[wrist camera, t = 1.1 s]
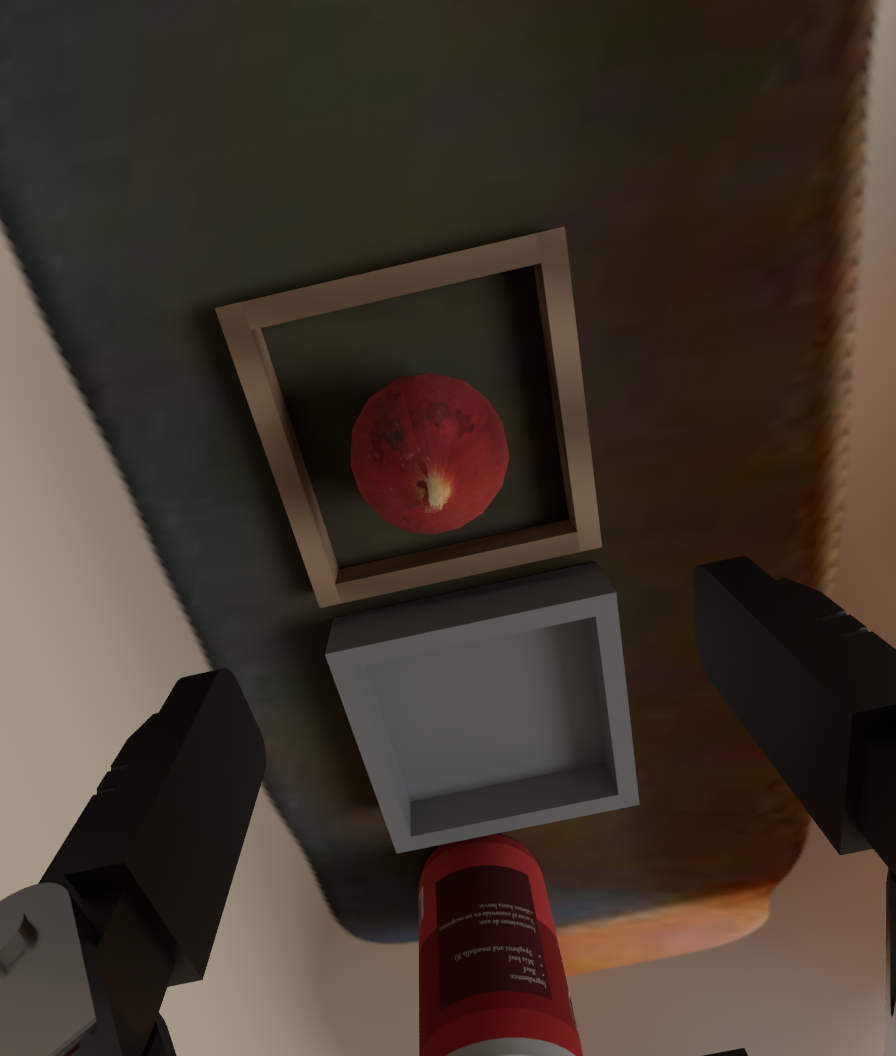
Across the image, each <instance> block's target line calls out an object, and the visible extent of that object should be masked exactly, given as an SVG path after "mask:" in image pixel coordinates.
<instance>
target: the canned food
mask: <svg viewBox="0 0 896 1056" xmlns="http://www.w3.org/2000/svg"><path fill="white" fill-rule="evenodd" d="M419 1033H420V1034H419V1044H420V1045H419V1048H420V1051H419V1055H420V1056H583V1054H582V1049H581V1043H580V1039H579V1034H578V1030H577V1025H576V1021H575V1016H574V1012H573V1008H572V1003H571V999H570V994H569V990H568V986H567V981H566V976H565V972H564V967H563V963H562V959H561V954H560V950H559V945H558V941H557V936H556V932H555V927H554V923H553V919H552V914H551V910H550V905H549V901H548V896H547V892H546V887H545V883H544V879H543V875H542V872H541V870H540V867H539V866H538V864H537V862H536V860H535V858H534V857H533V855H532V854H531V853H530V851H529V850H528V849H527V848H526V847H525V846H523V845H522V844H521V843H519V842H517V841H515V840H514V839H512V838H509V837H506V836H503V835H498V834H491V835H486V836H481V837H477V838H472V839H467V840H462V841H457V842H452V843H447V844H443V845H441V846H440V847H438V848H437V849H436V850H435V851H434V852H433V853H432V854H431V855H430V857H429V858H428V860H427V861H426V863H425V866H424V869H423V872H422V875H421V878H420V882H419Z"/></svg>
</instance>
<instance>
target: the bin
mask: <svg viewBox="0 0 896 1056" xmlns="http://www.w3.org/2000/svg"><path fill="white" fill-rule="evenodd" d="M325 656H326V659H327V662H328V664H329V667H330V670H331V673H332V675H333V678H334V681H335V684H336V686H337V689H338V692H339V695H340V698H341V700H342V703H343V706H344V709H345V711H346V714H347V717H348V720H349V723H350V725H351V728H352V731H353V734H354V736H355V739H356V742H357V745H358V748H359V750H360V753H361V756H362V759H363V761H364V764H365V767H366V770H367V773H368V775H369V778H370V781H371V784H372V786H373V789H374V792H375V795H376V798H377V800H378V803H379V806H380V809H381V811H382V814H383V817H384V820H385V822H386V825H387V828H388V831H389V834H390V836H391V839H392V842H393V845H394V847H395V850H396V853H402V852H407V851H412V850H417V849H422V848H427V847H432V846H437V845H442V844H447V843H452V842H457V841H462V840H467V839H472V838H477V837H481V836H486V835H491V834H496V833H501V832H506V831H511V830H516V829H521V828H526V827H531V826H536V825H541V824H546V823H551V822H556V821H561V820H566V819H571V818H576V817H581V816H586V815H591V814H596V813H601V812H606V811H610V810H615V809H620V808H625V807H630V806H635V805H639V797H638V788H637V779H636V770H635V760H634V751H633V742H632V733H631V724H630V715H629V706H628V696H627V687H626V678H625V669H624V660H623V651H622V642H621V632H620V623H619V614H618V605H617V596H616V591H615V590H614V588H613V587H612V585H611V584H610V582H609V581H608V579H607V578H606V576H605V575H604V573H603V572H602V570H601V569H600V567H599V566H598V564H597V563H596V562H592V563H587V564H582V565H578V566H573V567H568V568H564V569H559V570H554V571H550V572H545V573H541V574H536V575H531V576H527V577H522V578H517V579H513V580H508V581H503V582H499V583H494V584H489V585H485V586H480V587H475V588H471V589H466V590H461V591H457V592H452V593H447V594H443V595H438V596H434V597H429V598H424V599H420V600H415V601H410V602H406V603H401V604H396V605H392V606H387V607H382V608H378V609H373V610H368V611H364V612H359V613H354V614H350V615H345V616H340V617H336V618H333V622H332V627H331V631H330V635H329V639H328V643H327V648H326V652H325Z"/></svg>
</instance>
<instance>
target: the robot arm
mask: <svg viewBox="0 0 896 1056" xmlns="http://www.w3.org/2000/svg"><path fill="white" fill-rule="evenodd" d="M693 588H694V608H695V628H696V644H697V650H698V654H699V658H700V661H701V664H702V666H703V668H704V671H705V673H706V675H707V676H708V678H709V680H710V681H711V682H712V684H713V685H714V686H715V688H716V689H717V690H718V692H719V693H720V695H721V696H722V697H723V699H724V700H725V701H726V703H727V704H728V705H729V707H730V708H731V709H732V711H733V712H734V713H735V715H736V716H737V717H738V719H739V720H740V721H741V723H742V724H743V726H744V727H745V728H746V730H747V731H748V732H749V734H750V735H751V736H752V738H753V739H754V740H755V742H756V743H757V744H758V746H759V747H760V748H761V750H762V751H763V752H764V754H765V755H766V756H767V758H768V759H769V761H770V762H771V763H772V765H773V766H774V767H775V769H776V770H777V771H778V773H779V774H780V775H781V777H782V778H783V779H784V781H785V782H786V783H787V785H788V786H789V787H790V789H791V790H792V792H793V793H794V794H795V796H796V797H797V798H798V800H799V801H800V802H801V804H802V805H803V806H804V808H805V809H806V810H807V812H808V813H809V814H810V816H811V817H812V818H813V820H814V821H815V822H816V824H817V825H818V827H819V828H820V829H821V831H822V832H823V833H824V834H825V836H826V837H827V839H828V840H829V841H830V843H831V844H832V845H833V847H834V848H835V849H836V851H837V852H838V853H839V855H844V854H849V853H854V852H859V851H864V850H869V849H874V850H875V851H876V853H877V854H878V855H879V856H880V857H881V859H882V860H883V861H884V862H885V864H886V865H887V866H888V875H887V882H886V1036H885V1056H896V649H894V648H893V647H892V646H891V645H889V644H888V643H887V642H885V641H884V640H883V639H881V638H880V637H879V636H878V635H876V634H875V633H874V632H868V631H867V627H866V626H865V625H863V624H862V623H861V622H859V621H858V620H856V619H855V618H854V617H853V616H851V615H846V613H845V610H844V609H842V608H841V607H840V606H838V605H837V604H836V603H834V602H833V601H832V600H831V599H829V598H828V597H827V596H825V595H824V594H823V593H821V592H820V591H818V590H815V589H813V588H810V587H808V586H805V585H802V584H800V583H797V582H795V581H792V580H790V579H787V578H784V579H779V580H774V579H773V578H772V577H771V576H769V575H768V574H767V573H766V572H765V571H763V570H762V569H761V568H760V567H758V566H757V565H756V564H755V563H754V562H752V561H751V560H750V559H749V558H747V557H745V556H741V557H736V558H731V559H727V560H722V561H718V562H713V563H709V564H704V565H699V566H697V567H696V568H695V570H694V574H693ZM265 766H266V751H265V744H264V740H263V737H262V734H261V732H260V729H259V727H258V725H257V723H256V721H255V719H254V716H253V714H252V712H251V710H250V708H249V706H248V703H247V701H246V699H245V697H244V695H243V693H242V690H241V688H240V686H239V684H238V682H237V679H236V678H235V676H234V674H233V673H232V672H231V671H230V670H228V669H226V668H224V669H219V670H214V671H210V672H205V673H201V674H197V675H192V676H187V677H183V678H181V679H179V680H178V681H177V683H176V684H175V686H174V687H173V689H172V691H171V693H170V694H169V696H168V698H167V699H166V701H165V703H164V705H163V706H162V708H161V710H160V711H159V713H156V714H153V715H152V716H151V717H150V718H149V719H148V720H147V721H146V722H145V723H144V724H143V725H142V726H141V727H140V728H139V729H138V730H137V731H135V733H133V734H132V735H131V736H130V737H129V738H128V739H127V741H126V743H125V744H124V746H123V747H122V749H121V750H120V752H119V754H118V756H117V757H116V759H115V760H114V762H113V763H112V765H111V771H109V772H107V773H106V775H105V777H104V778H103V780H102V781H101V783H100V785H99V786H98V788H97V795H93V796H92V797H91V799H90V801H89V802H88V804H87V806H86V807H85V809H84V811H83V812H82V814H81V815H80V817H79V818H78V820H77V822H76V823H75V825H74V827H73V828H72V830H71V831H70V833H69V835H68V836H67V838H66V840H65V841H64V843H63V844H62V846H61V848H60V849H59V851H58V852H57V854H56V856H55V857H54V859H53V861H52V862H51V864H50V865H49V867H48V869H47V870H46V872H45V874H44V875H43V877H42V878H41V880H40V882H39V883H38V884H36V885H32V886H30V887H27V888H24V889H22V890H20V891H18V892H16V893H14V894H11V895H10V896H8V897H6V898H5V899H3V900H1V901H0V1056H176V1053H175V1050H174V1047H173V1043H172V1040H171V1037H170V1034H169V1031H168V1028H167V1025H166V1023H165V1021H164V1019H163V1018H162V1016H161V1015H160V1013H159V1009H160V1007H161V1004H162V1001H163V998H164V995H165V992H166V989H167V987H169V986H174V985H179V984H184V983H189V982H194V981H199V980H203V976H204V973H205V970H206V966H207V963H208V960H209V956H210V953H211V950H212V946H213V943H214V940H215V936H216V933H217V929H218V926H219V923H220V919H221V916H222V913H223V910H224V906H225V903H226V899H227V896H228V893H229V889H230V886H231V883H232V879H233V876H234V873H235V869H236V866H237V863H238V859H239V856H240V852H241V849H242V846H243V843H244V839H245V836H246V833H247V829H248V826H249V822H250V819H251V816H252V812H253V809H254V805H255V802H256V799H257V796H258V792H259V789H260V786H261V782H262V779H263V776H264V772H265ZM704 1056H748V1055H747V1053H746V1051H745V1049H744V1048H741V1049H736V1050H731V1051H725V1052H720V1053H715V1054H709V1055H704Z"/></svg>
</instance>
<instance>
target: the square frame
mask: <svg viewBox="0 0 896 1056" xmlns="http://www.w3.org/2000/svg"><path fill="white" fill-rule="evenodd" d="M531 265H534V272H535V280H536V287H537V294H538V301H539V308H540V315H541V323H542V330H543V337H544V344H545V351H546V359H547V366H548V373H549V380H550V387H551V395H552V402H553V409H554V416H555V423H556V430H557V438H558V445H559V452H560V459H561V466H562V474H563V481H564V488H565V495H566V502H567V510H568V517H569V519H567V520H563V521H558V522H554V523H549V524H544V525H540V526H535V527H531V528H526V529H521V530H517V531H512V532H508V533H503V534H498V535H494V536H489V537H485V538H480V539H475V540H471V541H466V542H462V543H457V544H452V545H448V546H443V547H439V548H434V549H429V550H425V551H420V552H416V553H411V554H406V555H402V556H397V557H393V558H388V559H383V560H379V561H374V562H370V563H365V564H361V565H356V566H351V567H347V568H342V569H339V568H338V565H337V562H336V558H335V555H334V552H333V549H332V546H331V543H330V540H329V537H328V534H327V531H326V528H325V525H324V522H323V518H322V515H321V512H320V509H319V506H318V503H317V500H316V497H315V494H314V491H313V488H312V485H311V482H310V479H309V475H308V472H307V469H306V466H305V463H304V460H303V457H302V454H301V451H300V448H299V445H298V442H297V439H296V435H295V432H294V429H293V426H292V423H291V420H290V417H289V414H288V411H287V408H286V405H285V402H284V399H283V395H282V392H281V389H280V386H279V383H278V380H277V377H276V374H275V371H274V368H273V365H272V362H271V359H270V355H269V352H268V349H267V346H266V343H265V340H264V337H263V334H262V331H261V328H263V327H267V326H272V325H276V324H280V323H284V322H289V321H293V320H297V319H302V318H306V317H310V316H315V315H319V314H323V313H328V312H332V311H336V310H341V309H345V308H349V307H354V306H358V305H362V304H367V303H371V302H375V301H379V300H384V299H388V298H392V297H397V296H401V295H405V294H410V293H414V292H418V291H423V290H427V289H431V288H436V287H440V286H444V285H449V284H453V283H457V282H462V281H466V280H470V279H474V278H479V277H483V276H487V275H492V274H496V273H500V272H505V271H509V270H513V269H518V268H522V267H526V266H531ZM215 310H216V313H217V316H218V319H219V322H220V325H221V328H222V330H223V333H224V336H225V339H226V342H227V345H228V347H229V350H230V353H231V356H232V359H233V362H234V365H235V367H236V370H237V373H238V376H239V379H240V382H241V385H242V387H243V390H244V393H245V396H246V399H247V402H248V404H249V407H250V410H251V413H252V416H253V419H254V422H255V424H256V427H257V430H258V433H259V436H260V439H261V442H262V444H263V447H264V450H265V453H266V456H267V459H268V461H269V464H270V467H271V470H272V473H273V476H274V479H275V481H276V484H277V487H278V490H279V493H280V496H281V499H282V501H283V504H284V507H285V510H286V513H287V516H288V518H289V521H290V524H291V527H292V530H293V533H294V536H295V538H296V541H297V544H298V547H299V550H300V553H301V556H302V558H303V561H304V564H305V567H306V570H307V573H308V575H309V578H310V581H311V584H312V587H313V590H314V593H315V595H316V598H317V601H318V604H319V607H320V608H322V607H327V606H332V605H336V604H341V603H345V602H350V601H355V600H359V599H364V598H369V597H373V596H378V595H383V594H387V593H392V592H396V591H401V590H406V589H410V588H415V587H420V586H424V585H429V584H434V583H438V582H443V581H447V580H452V579H457V578H461V577H466V576H471V575H475V574H480V573H485V572H489V571H494V570H498V569H503V568H508V567H512V566H517V565H522V564H526V563H531V562H536V561H540V560H545V559H549V558H554V557H559V556H563V555H568V554H573V553H577V552H582V551H587V550H591V549H596V548H600V547H602V543H601V534H600V525H599V517H598V508H597V500H596V491H595V482H594V474H593V465H592V457H591V448H590V440H589V431H588V422H587V414H586V405H585V397H584V388H583V379H582V371H581V362H580V354H579V345H578V336H577V328H576V319H575V311H574V302H573V294H572V285H571V276H570V268H569V259H568V251H567V242H566V233H565V227H561V228H557V229H552V230H548V231H544V232H539V233H535V234H531V235H527V236H522V237H518V238H514V239H509V240H505V241H501V242H497V243H492V244H488V245H484V246H479V247H475V248H471V249H467V250H462V251H458V252H454V253H449V254H445V255H441V256H437V257H432V258H428V259H424V260H419V261H415V262H411V263H407V264H402V265H398V266H394V267H389V268H385V269H381V270H377V271H372V272H368V273H364V274H359V275H355V276H351V277H347V278H342V279H338V280H334V281H329V282H325V283H321V284H316V285H312V286H308V287H304V288H299V289H295V290H291V291H286V292H282V293H278V294H274V295H269V296H265V297H261V298H256V299H252V300H248V301H244V302H239V303H235V304H231V305H226V306H222V307H218V308H215Z"/></svg>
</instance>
